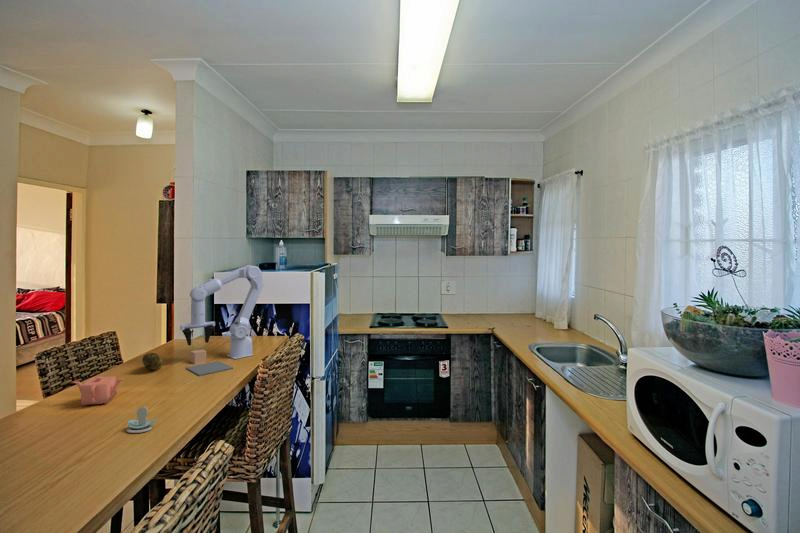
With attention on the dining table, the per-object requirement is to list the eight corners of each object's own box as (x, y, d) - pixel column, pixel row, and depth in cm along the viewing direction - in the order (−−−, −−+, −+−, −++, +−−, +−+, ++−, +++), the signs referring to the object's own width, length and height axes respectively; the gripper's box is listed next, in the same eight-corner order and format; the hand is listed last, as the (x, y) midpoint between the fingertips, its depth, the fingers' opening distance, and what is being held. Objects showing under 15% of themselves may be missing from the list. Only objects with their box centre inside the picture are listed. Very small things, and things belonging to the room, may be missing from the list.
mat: (218, 362, 185) (218, 360, 185) (233, 368, 176) (233, 367, 175) (185, 368, 174) (185, 367, 174) (199, 376, 165) (199, 374, 165)
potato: (170, 365, 179) (170, 347, 179) (156, 374, 166) (156, 355, 166) (150, 365, 178) (150, 347, 178) (134, 374, 165) (134, 355, 165)
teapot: (118, 405, 134) (118, 381, 134) (64, 410, 130) (63, 384, 129) (130, 393, 146) (130, 370, 145) (81, 397, 141) (80, 373, 141)
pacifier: (149, 434, 115) (159, 424, 121) (149, 412, 115) (158, 404, 121) (121, 435, 114) (132, 425, 120) (120, 414, 114) (131, 405, 120)
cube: (201, 359, 189) (201, 349, 188) (206, 362, 185) (206, 351, 185) (190, 361, 185) (190, 351, 185) (194, 364, 181) (194, 353, 181)
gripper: (210, 311, 192) (210, 339, 193) (177, 314, 181) (177, 344, 182) (217, 313, 187) (217, 342, 188) (183, 316, 176) (183, 347, 177)
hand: (198, 343), depth 185 cm, fingers open, 7 cm apart
